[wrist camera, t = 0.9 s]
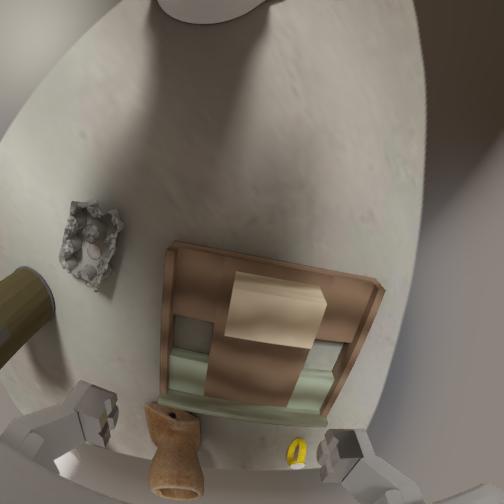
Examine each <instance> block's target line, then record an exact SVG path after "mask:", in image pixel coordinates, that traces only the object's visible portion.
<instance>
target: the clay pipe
mask: <svg viewBox="0 0 504 504" xmlns="http://www.w3.org/2000/svg"><path fill="white" fill-rule="evenodd" d="M145 412H146V419H147V423H148V429H149V433H150V437H151V439H152V441H153V443H154V444H155V445H156V446H157V447H158V449H157V451H156V453H155V455H154V457H153V459H152V462H151V464H150V470H149V478H148V479H149V480H148V485H149V488H150V490H151V491H152V492H154V494H156V495H158V496H159V497H163V498H166V499H171V500H181V501H189V500H196V499H199V498H201V497H202V496H203V494H204V477H203V473H202V470H201V467H200V464H199V460H198V456H197V452H196V451H197V450H198V448H199V446H200V441H201V438H200V423H199V420H198V418H196V417H195V416H193V415H191V414H190V413H188V412H186V411H184V410H180V409H176V408H172V407H167V406H163V405H159V404H158V403H146V405H145Z"/></svg>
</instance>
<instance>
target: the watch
mask: <svg viewBox="0 0 504 504" xmlns="http://www.w3.org/2000/svg"><path fill="white" fill-rule="evenodd" d="M298 444H299V453H298V457H297V460H296V461H294V452H295V449H296V447H297V445H298ZM305 456H306V443H305V441H304V440H303V439H295V440H294V441H293V442H292V444H291V445H290V446H289V449H288V453H287V462H288V465H289V466H290V468H291V469H301V468H303V467H304V466H305V462H304V459H305Z"/></svg>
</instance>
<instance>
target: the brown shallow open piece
mask: <svg viewBox="0 0 504 504" xmlns="http://www.w3.org/2000/svg"><path fill="white" fill-rule="evenodd" d="M236 271H238V272H244V273H249V274H254V275H260V276H265V277H271V278H276V279H282V280H287V281H293V282H299V283H304V284H310V285H316V286H320V289H321V291H322V293H323V296H324V298H325V300H326V303H327V306H326V309H325V312H324V315H323V318H322V321H321V324H320V326H319V329H318V332H317V335H316V337H315V339H321V340H329V341H338V342H345V343H344V345H343V347H342V350H341V352H340V354H339V357H338V359H337V361H336V363H335V366H334V368H333V370H332V371H322V370H311V369H302V368H303V366H304V363H305V361H306V358H307V355H308V353H309V350H310V349H308V348H300V347H292V346H285V345H278V344H271V343H265V342H258V341H252V340H246V339H240V338H234V337H229V336H224V335H225V329H226V323H227V317H228V312H229V306H230V301H231V296H232V290H233V285H234V279H235V274H236ZM385 291H386V290H385V289H384V288H383V287H382V285H381V284H380V283H379V282H378V281H377V280H376V279H375V278H369V277H364V276H358V275H353V274H348V273H342V272H337V271H331V270H326V269H321V268H315V267H310V266H305V265H299V264H294V263H289V262H283V261H278V260H273V259H267V258H262V257H257V256H251V255H246V254H241V253H235V252H230V251H225V250H220V249H214V248H209V247H204V246H199V245H193V244H188V243H183V242H178V241H174V242H173V243H172V244H171V246H170V247H169V248H168V249H167V250H166V260H165V272H164V285H163V299H162V317H161V341H160V394H159V397H158V400H157V403H158V404H159V405H163V406H167V407H172V408H176V409H180V410H185V411H189V412H194V413H199V414H205V415H210V416H216V417H222V418H228V419H234V420H241V421H249V422H257V423H266V424H277V425H289V426H305V427H326V426H327V424H328V422H327V415H328V413H329V411H330V409H331V408H332V406H333V404H334V402H335V400H336V399H337V397H338V395H339V393H340V391H341V389H342V387H343V385H344V383H345V381H346V379H347V377H348V375H349V373H350V371H351V369H352V367H353V365H354V363H355V361H356V359H357V357H358V355H359V353H360V350H361V348H362V346H363V344H364V342H365V339H366V337H367V335H368V333H369V330H370V328H371V326H372V323H373V321H374V318H375V316H376V314H377V311H378V309H379V306H380V304H381V301H382V298H383V296H384V293H385ZM175 315H179V316H184V317H189V318H193V319H198V320H203V321H208V322H213V323H214V328H213V334H212V341H211V347H210V354H204V353H199V352H194V351H190V350H185V349H180V348H176V347H173V338H174V323H175Z"/></svg>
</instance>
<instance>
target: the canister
mask: <svg viewBox="0 0 504 504" xmlns="http://www.w3.org/2000/svg"><path fill="white" fill-rule="evenodd" d="M54 311H55V306H54V299H53V296H52V293H51V290H50V289H49V287H48V285H47V283H46V282H45V280H44V279H43V278H42V277H41V276H40V274H38V273H37V272H36V271H35V270H33V269H31V268H29V267H25V266H23V267H19V268H17V269H16V270H15V271H14V273H12V274H11V275H9V276H8V277H6V278H5V279H3V280H2V281H0V369H1V368H2V367H3V366H4V365H5V364H6V363H7V362H8V361H9V359H10V358H11V357H12V356H13V355H14V354H15V353H16V352H17V351H18V350H19V349H20V348H21V347H22V346H23V345H24V344H25V343H26V342H27V341H28V340H29V339H30V338H31V337H32V336H33V335H34V334H35V333H36V332H37V331H38V330H39V329H40V328H41V327H42V326H43V325H44V324H45V323H47V322H49V321H50V320H51V319H52V317H53V315H54Z"/></svg>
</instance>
